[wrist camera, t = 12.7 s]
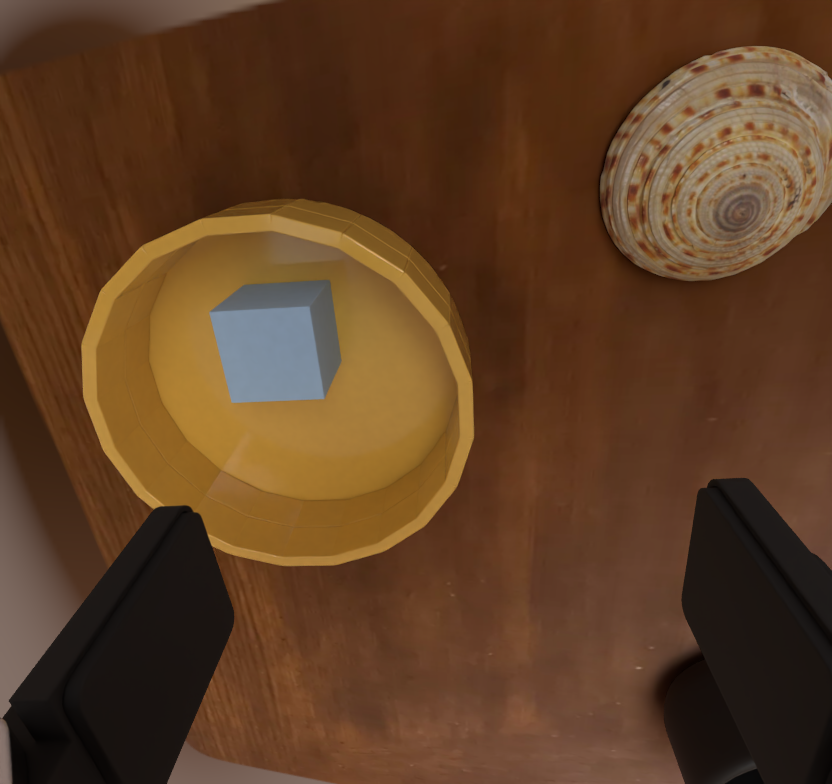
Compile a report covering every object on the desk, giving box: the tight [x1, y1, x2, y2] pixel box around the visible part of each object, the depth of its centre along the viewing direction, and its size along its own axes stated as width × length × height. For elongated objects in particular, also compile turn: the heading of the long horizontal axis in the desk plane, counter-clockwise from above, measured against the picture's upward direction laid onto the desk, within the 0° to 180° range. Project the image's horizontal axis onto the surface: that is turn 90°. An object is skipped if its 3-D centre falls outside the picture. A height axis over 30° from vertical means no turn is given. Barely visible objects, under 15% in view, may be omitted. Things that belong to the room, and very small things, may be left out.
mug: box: [664, 660, 764, 784], centre depth 32 cm, size 12×9×7 cm
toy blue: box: [209, 280, 341, 403], centre depth 24 cm, size 4×4×4 cm
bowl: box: [81, 199, 474, 566], centre depth 25 cm, size 16×16×5 cm
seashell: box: [600, 46, 832, 281], centre depth 21 cm, size 8×6×8 cm
